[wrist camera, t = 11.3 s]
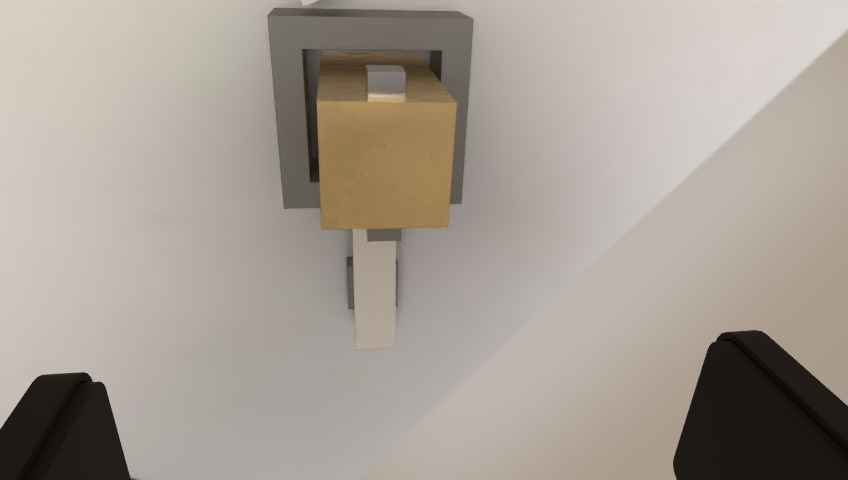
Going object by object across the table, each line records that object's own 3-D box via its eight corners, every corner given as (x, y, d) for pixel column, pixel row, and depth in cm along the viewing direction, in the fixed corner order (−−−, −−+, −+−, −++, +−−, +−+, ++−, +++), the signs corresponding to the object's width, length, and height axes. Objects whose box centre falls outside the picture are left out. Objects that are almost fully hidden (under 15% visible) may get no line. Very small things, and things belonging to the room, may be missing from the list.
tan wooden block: (420, 36, 26) (458, 77, 18) (414, 163, 29) (446, 247, 21) (320, 33, 25) (315, 74, 17) (324, 163, 28) (322, 250, 20)
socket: (470, -201, 22) (489, -220, 20) (442, 312, 33) (452, 344, 30) (227, -218, 21) (211, -241, 18) (279, 320, 32) (275, 355, 29)
